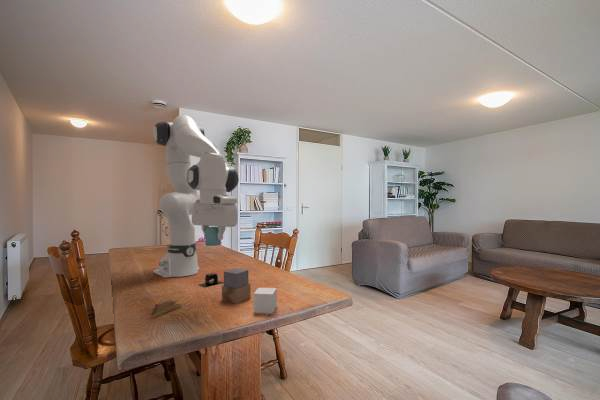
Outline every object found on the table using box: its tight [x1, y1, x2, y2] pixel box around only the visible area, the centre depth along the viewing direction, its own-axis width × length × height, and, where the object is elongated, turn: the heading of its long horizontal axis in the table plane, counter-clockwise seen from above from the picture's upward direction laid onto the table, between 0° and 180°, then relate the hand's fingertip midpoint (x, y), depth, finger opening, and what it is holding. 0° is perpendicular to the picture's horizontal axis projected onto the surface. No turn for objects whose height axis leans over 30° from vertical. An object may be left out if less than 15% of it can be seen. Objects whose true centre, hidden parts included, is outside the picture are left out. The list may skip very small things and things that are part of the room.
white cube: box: [253, 287, 278, 315], centre depth 87 cm, size 6×6×6 cm
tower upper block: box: [223, 267, 249, 289], centre depth 97 cm, size 6×6×5 cm
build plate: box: [198, 272, 224, 288], centre depth 115 cm, size 12×7×5 cm, turn 138°
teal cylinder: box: [205, 226, 222, 247], centre depth 94 cm, size 5×5×6 cm
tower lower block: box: [221, 282, 252, 304], centre depth 97 cm, size 7×7×5 cm
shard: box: [151, 299, 183, 319], centre depth 87 cm, size 11×8×2 cm
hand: (213, 239), depth 94 cm, fingers closed on teal cylinder, 5 cm apart
